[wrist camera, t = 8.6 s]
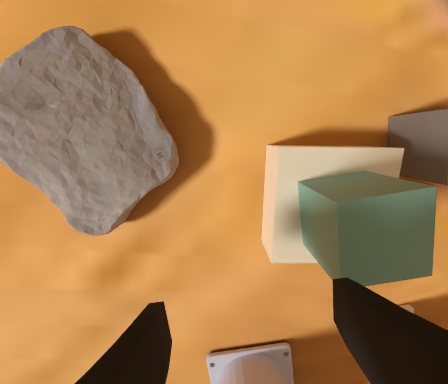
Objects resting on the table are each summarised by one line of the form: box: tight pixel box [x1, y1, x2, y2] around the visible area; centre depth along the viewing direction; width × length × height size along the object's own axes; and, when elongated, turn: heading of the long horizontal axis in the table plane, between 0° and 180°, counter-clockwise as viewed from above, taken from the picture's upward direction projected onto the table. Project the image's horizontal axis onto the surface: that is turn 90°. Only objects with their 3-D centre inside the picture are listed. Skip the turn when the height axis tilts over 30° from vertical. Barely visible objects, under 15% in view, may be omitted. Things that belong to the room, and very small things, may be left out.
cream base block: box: [262, 145, 404, 263], centre depth 17 cm, size 8×8×4 cm
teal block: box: [298, 171, 437, 286], centre depth 13 cm, size 4×4×5 cm
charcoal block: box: [388, 108, 448, 185], centre depth 16 cm, size 4×4×5 cm
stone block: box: [0, 26, 179, 236], centre depth 16 cm, size 12×5×10 cm
